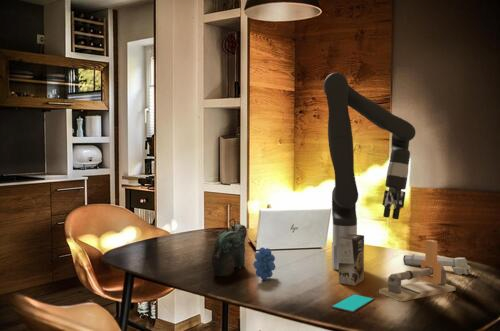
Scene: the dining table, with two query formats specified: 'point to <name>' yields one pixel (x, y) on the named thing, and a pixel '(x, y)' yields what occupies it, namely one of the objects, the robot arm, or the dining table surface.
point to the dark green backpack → (229, 248)
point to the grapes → (264, 263)
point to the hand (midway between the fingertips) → (390, 218)
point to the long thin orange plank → (431, 262)
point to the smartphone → (352, 303)
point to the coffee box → (351, 259)
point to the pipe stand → (415, 285)
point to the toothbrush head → (457, 264)
